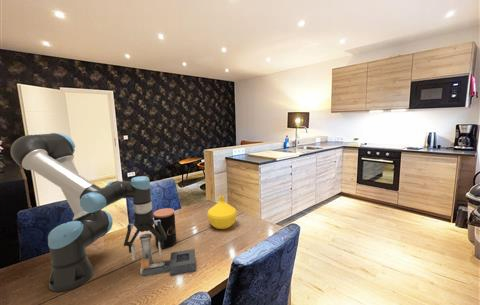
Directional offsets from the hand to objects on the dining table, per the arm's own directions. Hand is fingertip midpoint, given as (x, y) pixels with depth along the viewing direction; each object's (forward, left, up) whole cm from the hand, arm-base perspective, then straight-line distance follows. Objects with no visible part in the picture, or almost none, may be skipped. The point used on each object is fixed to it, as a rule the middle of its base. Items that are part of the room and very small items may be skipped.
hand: (147, 256), depth 104 cm
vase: (+40, +29, -4) cm, 49 cm away
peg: (0, 0, -4) cm, 4 cm away
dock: (+10, -5, -4) cm, 12 cm away
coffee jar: (+7, +17, -4) cm, 18 cm away
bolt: (+3, -5, -4) cm, 7 cm away
